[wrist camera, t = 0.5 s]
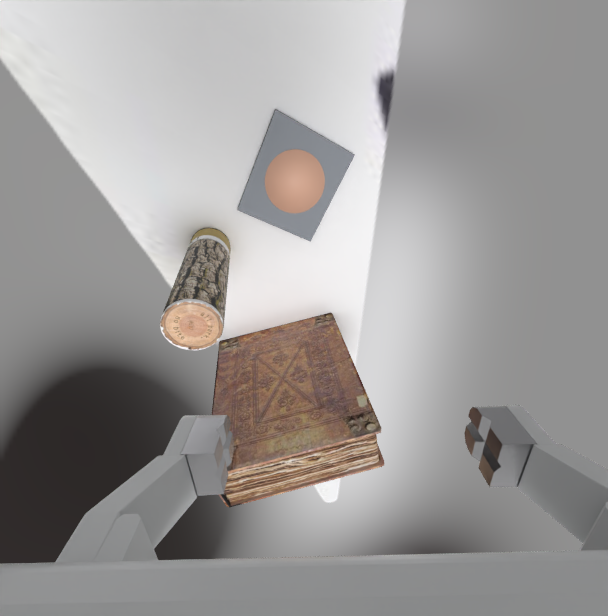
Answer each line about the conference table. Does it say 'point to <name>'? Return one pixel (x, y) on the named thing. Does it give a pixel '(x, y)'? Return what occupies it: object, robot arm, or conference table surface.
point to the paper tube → (199, 293)
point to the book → (293, 410)
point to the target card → (294, 177)
